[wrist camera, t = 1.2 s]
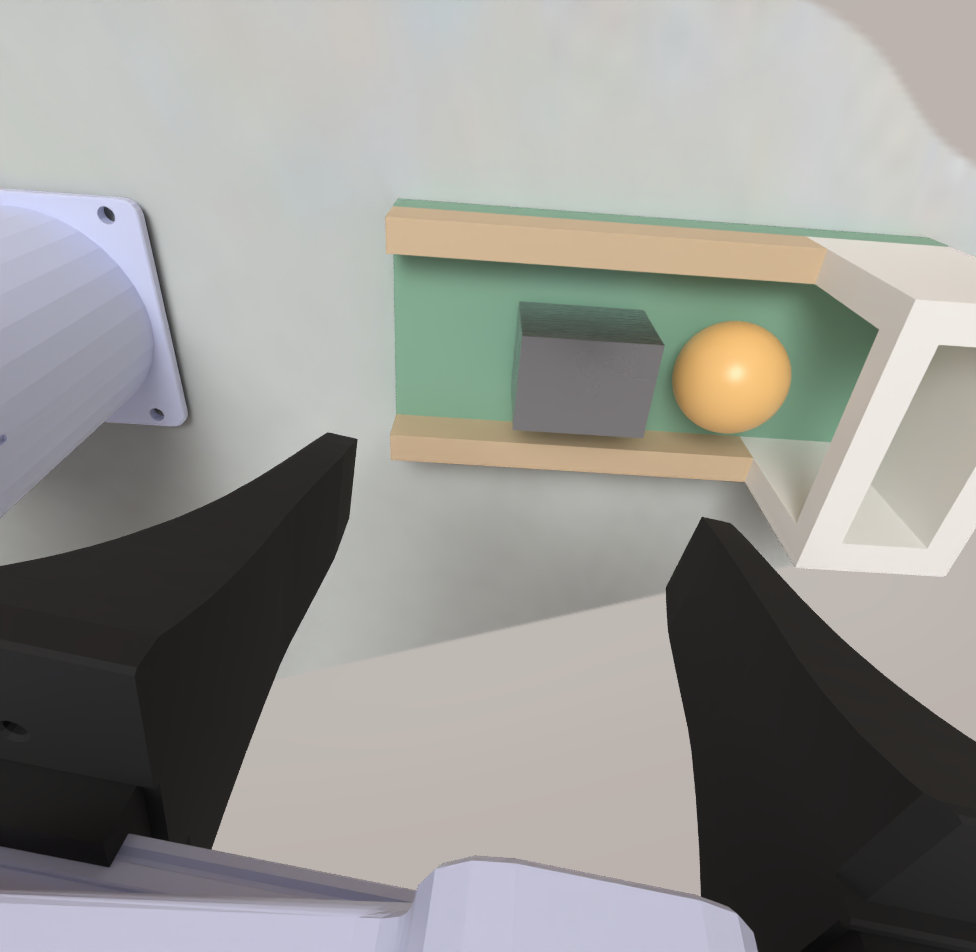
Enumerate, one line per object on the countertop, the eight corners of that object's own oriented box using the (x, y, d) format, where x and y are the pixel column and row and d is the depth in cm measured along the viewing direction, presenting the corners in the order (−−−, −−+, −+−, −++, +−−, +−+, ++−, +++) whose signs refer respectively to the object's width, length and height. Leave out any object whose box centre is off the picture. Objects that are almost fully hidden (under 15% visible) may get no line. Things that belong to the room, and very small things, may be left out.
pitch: (400, 422, 24) (368, 542, 18) (398, 198, 20) (354, 259, 14) (835, 450, 25) (944, 577, 19) (928, 237, 20) (1111, 313, 14)
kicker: (510, 387, 22) (512, 429, 19) (518, 301, 20) (522, 336, 17) (626, 395, 22) (642, 438, 19) (643, 310, 20) (664, 345, 18)
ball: (651, 399, 22) (674, 450, 19) (674, 301, 20) (704, 342, 17) (749, 405, 22) (787, 458, 19) (781, 308, 20) (829, 350, 17)
